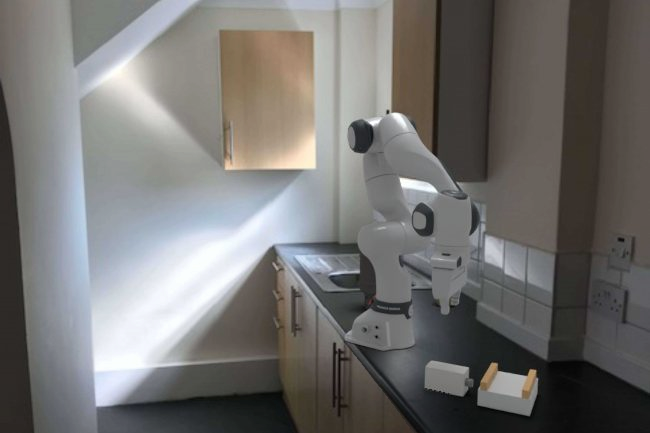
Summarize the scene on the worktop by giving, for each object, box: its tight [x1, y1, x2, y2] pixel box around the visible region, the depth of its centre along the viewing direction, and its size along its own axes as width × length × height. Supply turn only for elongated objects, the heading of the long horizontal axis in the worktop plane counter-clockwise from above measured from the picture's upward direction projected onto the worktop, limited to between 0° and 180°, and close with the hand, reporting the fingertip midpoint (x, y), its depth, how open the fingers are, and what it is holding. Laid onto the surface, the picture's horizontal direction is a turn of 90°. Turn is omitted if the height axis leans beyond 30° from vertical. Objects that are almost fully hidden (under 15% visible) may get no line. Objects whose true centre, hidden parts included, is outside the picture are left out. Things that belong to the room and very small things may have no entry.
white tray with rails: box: [477, 362, 539, 417], centre depth 140 cm, size 12×14×6 cm
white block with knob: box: [424, 360, 474, 397], centre depth 146 cm, size 12×5×6 cm, turn 62°
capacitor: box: [358, 250, 376, 311], centre depth 218 cm, size 14×14×30 cm
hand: (450, 309), depth 144 cm, fingers open, 8 cm apart
